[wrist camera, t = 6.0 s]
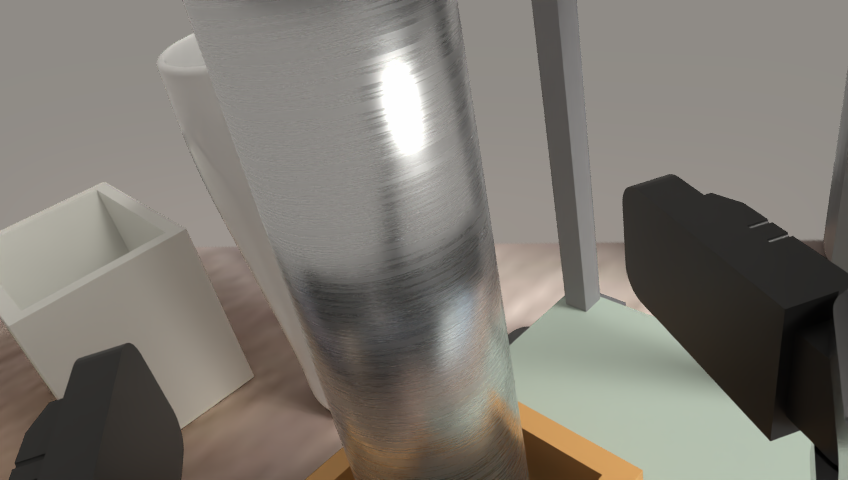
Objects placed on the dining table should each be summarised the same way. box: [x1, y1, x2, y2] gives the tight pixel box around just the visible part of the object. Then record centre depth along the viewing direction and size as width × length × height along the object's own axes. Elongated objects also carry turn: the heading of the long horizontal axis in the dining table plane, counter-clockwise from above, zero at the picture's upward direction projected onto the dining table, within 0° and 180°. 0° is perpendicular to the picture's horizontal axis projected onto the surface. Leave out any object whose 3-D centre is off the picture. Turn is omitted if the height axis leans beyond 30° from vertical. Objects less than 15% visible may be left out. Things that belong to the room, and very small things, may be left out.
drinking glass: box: [157, 33, 330, 410], centre depth 25 cm, size 7×7×15 cm
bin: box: [0, 182, 254, 429], centre depth 29 cm, size 7×9×8 cm
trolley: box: [305, 0, 848, 480], centre depth 15 cm, size 13×11×18 cm
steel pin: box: [182, 0, 529, 480], centre depth 12 cm, size 5×5×15 cm
